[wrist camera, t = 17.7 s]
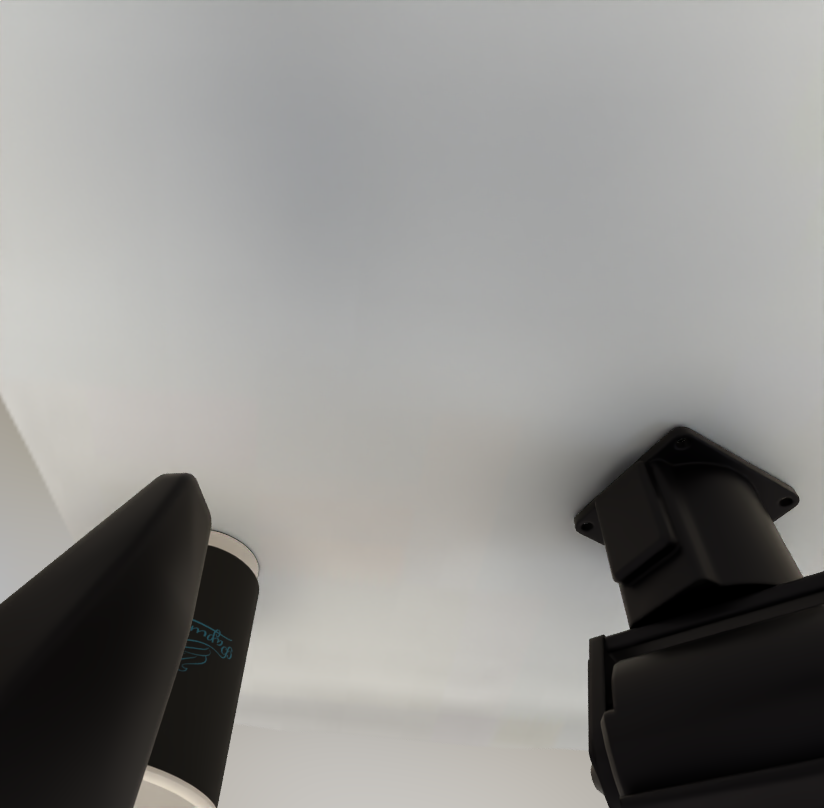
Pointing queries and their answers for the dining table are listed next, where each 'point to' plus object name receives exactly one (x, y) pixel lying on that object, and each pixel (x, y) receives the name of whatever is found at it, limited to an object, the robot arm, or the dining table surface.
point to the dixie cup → (205, 684)
